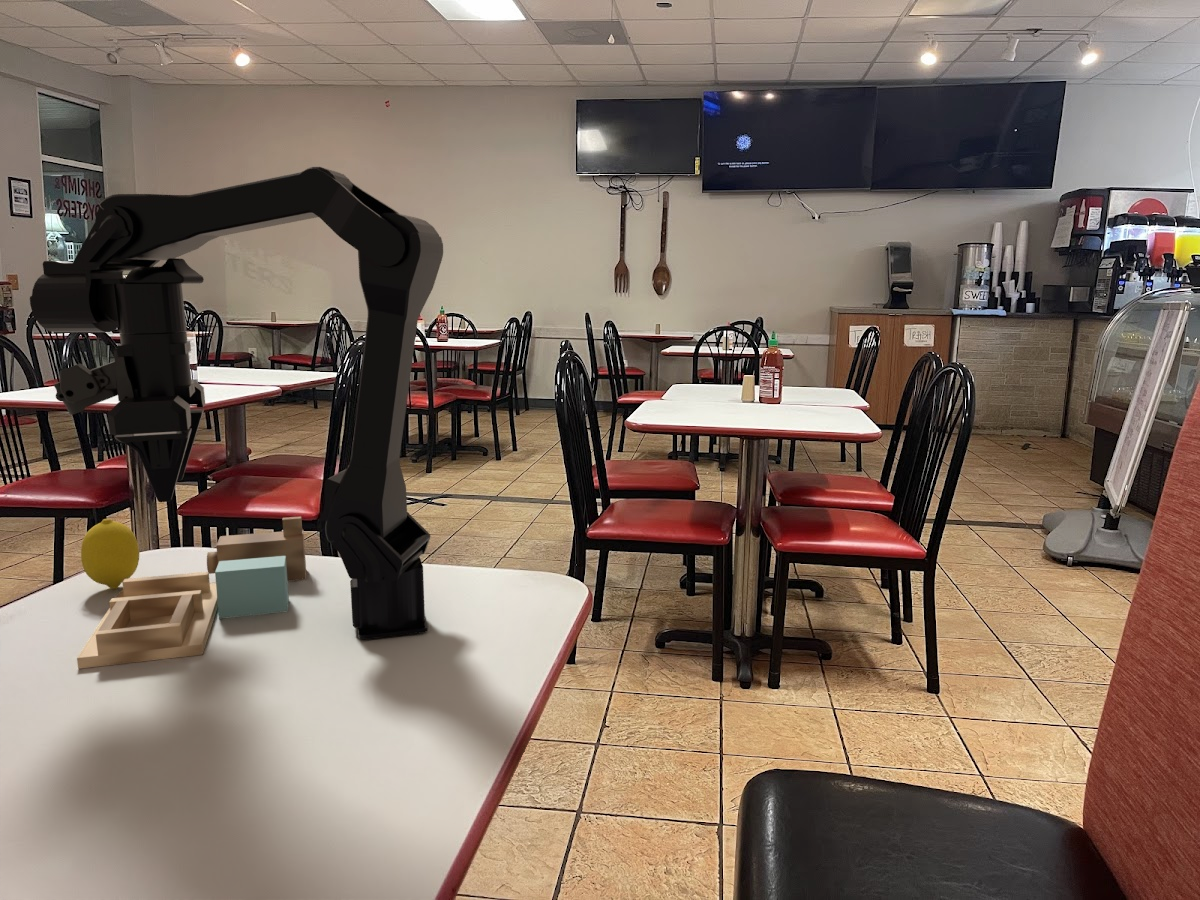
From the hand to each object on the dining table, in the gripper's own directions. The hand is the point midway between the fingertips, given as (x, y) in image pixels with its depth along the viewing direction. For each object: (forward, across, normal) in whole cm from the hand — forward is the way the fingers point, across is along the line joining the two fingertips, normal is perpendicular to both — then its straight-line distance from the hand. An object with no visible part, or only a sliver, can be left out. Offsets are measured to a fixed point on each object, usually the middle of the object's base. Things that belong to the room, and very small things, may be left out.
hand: (170, 490), depth 85 cm
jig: (+13, +3, -2) cm, 13 cm away
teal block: (+13, +1, +7) cm, 15 cm away
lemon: (+13, -10, -8) cm, 18 cm away
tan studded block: (+13, -8, +8) cm, 17 cm away
